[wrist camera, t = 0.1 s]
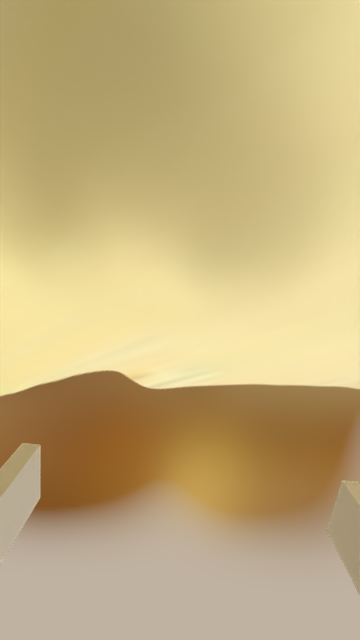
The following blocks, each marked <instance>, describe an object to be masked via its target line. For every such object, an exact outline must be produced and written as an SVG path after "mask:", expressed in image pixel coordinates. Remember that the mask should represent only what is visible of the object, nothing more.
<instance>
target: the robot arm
mask: <svg viewBox="0 0 360 640" xmlns="http://www.w3.org/2000/svg"><path fill="white" fill-rule="evenodd" d="M39 499H40V445H36V444H27V443H22V444H21V445H20V447H19V448H18V449H17V450H16V451H15V452H14V454H13V455H12V456H11V457H10V458H9V459H8V461H7V462H6V463H5V464H4V465H3V466H2V467H1V469H0V564H1V562H2V561H3V559H4V557H5V556H6V554H7V552H8V551H9V549H10V547H11V546H12V544H13V542H14V541H15V539H16V537H17V535H18V534H19V532H20V530H21V529H22V527H23V525H24V524H25V522H26V521H27V519H28V517H29V515H30V513H31V512H32V510H33V509H34V507H35V505H36V504H37V502H38V500H39ZM327 532H328V534H329V536H330V538H331V539H332V542H333V544H334V545H335V547H336V549H337V551H338V553H339V555H340V557H341V559H342V561H343V563H344V565H345V567H346V569H347V571H348V573H349V575H350V577H351V579H352V581H353V583H354V585H355V587H356V589H357V591H358V593H359V595H360V482H352V481H342V483H341V486H340V489H339V493H338V496H337V499H336V503H335V506H334V509H333V512H332V515H331V519H330V522H329V525H328V529H327Z"/></svg>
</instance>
